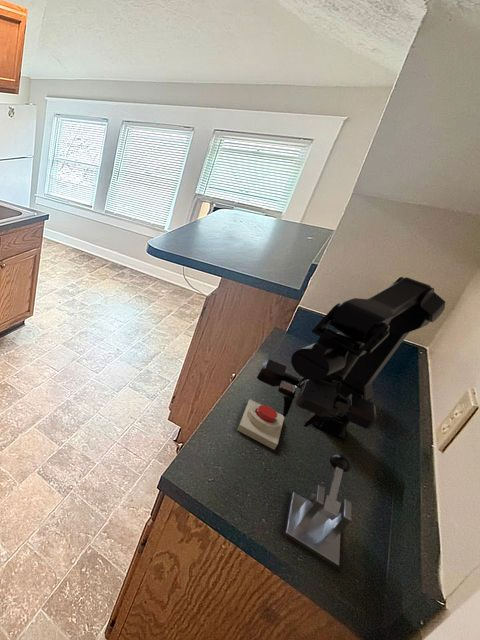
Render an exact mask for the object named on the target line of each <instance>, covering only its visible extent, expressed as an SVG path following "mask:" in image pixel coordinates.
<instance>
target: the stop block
mask: <svg viewBox="0 0 480 640" xmlns="http://www.w3.org/2000/svg"><path fill="white" fill-rule="evenodd" d="M245 405H246V406H245V408H244V410H243V414H242V416H241V418H240V421H239V424H238V427H237V431H238V432H240V433H242V434H243V435H245V436H247V437H249V438H251V439H253V440H255V441H257V442H259V443H260V444H263V445H264V446H266V447H268V448H269V449H272V450H273V451H274V450H276V448H277V446H278V445H279V441H280V437H281V433H282V430H283V429H282V428H283V425H284V420H285V417H284V416H283V414H281V413H280V412H276V411H275V412H276V413H277V418H276V419H275V421H274V422H272V423H270V422H266V421H264V420H262V419H261V418H260V417H258V416H257V414H256V411H257V409H258V407H259V406H261V405H262V404H261V403H258V402H256V401H255V400H253V399H250V398H249V399H248V402H247V403H246V404H245Z"/></svg>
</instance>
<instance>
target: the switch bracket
mask: <svg viewBox="0 0 480 640" xmlns="http://www.w3.org/2000/svg"><path fill="white" fill-rule="evenodd" d="M325 489H326V488H325V487H324V486H322V485H320V484H318V485H317V486H316V488H315V489H314V490H313V491H312V493H310V494H309V495H308V498H305V497H304V496H301V495H299V494H298V493H297V492H294V491H292V493H291V495H290V501H289V506H288V512H287V518H286V523H285V530H284V536H285V537H287V538H288V539H291V540H292V541H294V543H296V544H298V545H299V546H302V547H303V548H305V549H306V550H307V551H309V552H311V553H313V554H314V555H315V556H317V557H318V558H320V559H322V560H323V561H325V562H327V564H330V565H331V566H333V567H335V568H336V569H337V568H338V567H340V559H341V558H340V556H341V555H340V554H341V552H340V551H341V533H342V531H343V530H345V528H346V527H347V526H348V524H350V523H351V521H352V519H353V517H352V501H349V500H348V499H343V501H342V502H340V503H341V506H340V511H339V515H338V517H337V518H335V519H333V520H331V519H329V518H327V517H326V516H324V515H322V514H320V513H319V512H318V511H319V509H320V508H321V507H322V506H323V503H324V497H325V492H326V491H325Z"/></svg>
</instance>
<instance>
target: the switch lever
mask: <svg viewBox="0 0 480 640" xmlns="http://www.w3.org/2000/svg"><path fill="white" fill-rule="evenodd" d="M329 464H330V465H331V467H332V468H333V473H332V475H331V481H330V484H329V487H328V492H327V494H326V495H324V503H323V506H322V507H321V508H320V509H319V511H318V512H319V513H320V514H322V515H324V516H326V517H327V518H329V519H331V520H333V519H335V518H337V517H338V515H339V511H340V506H341V503H342V502H341V501H338V495H339V490H340V487H341V482H342V477H343V473H347V472H349V471H351V469H352V462H351V460H350V459H349V458H348V457H347V456H346V455H343V454H340V453H335V454H333V455H331V456H330V458H329Z"/></svg>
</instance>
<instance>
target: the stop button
mask: <svg viewBox="0 0 480 640" xmlns="http://www.w3.org/2000/svg"><path fill="white" fill-rule="evenodd" d="M260 405H261V406H259V407H258V409H257V411H256V414H257V416H258V417H260V418H261V419H262V420H264V421H266V422H270V423H272V422H274V421H275V419H276V418H277V413H278V412H277V413H276V410H275V409H274V408H272V407H270V406H268V405H264V404H260Z"/></svg>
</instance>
